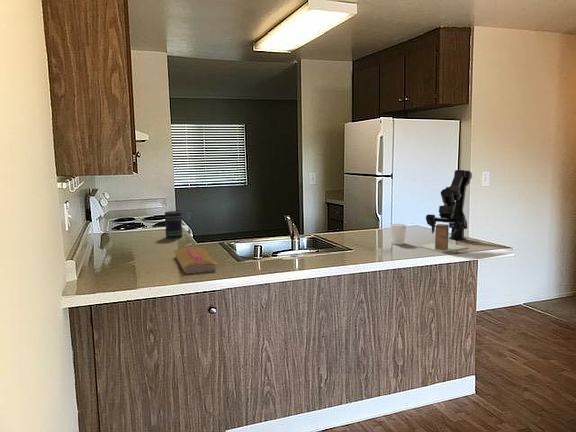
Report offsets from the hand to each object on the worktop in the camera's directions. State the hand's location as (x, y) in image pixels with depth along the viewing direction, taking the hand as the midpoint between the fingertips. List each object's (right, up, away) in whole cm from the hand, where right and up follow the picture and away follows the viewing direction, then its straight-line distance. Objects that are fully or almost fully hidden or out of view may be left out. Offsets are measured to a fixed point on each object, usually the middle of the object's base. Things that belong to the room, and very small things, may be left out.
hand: (442, 234), depth 231 cm
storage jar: (-144, -4, +45) cm, 151 cm away
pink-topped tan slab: (-119, -13, -20) cm, 121 cm away
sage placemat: (+3, -7, +7) cm, 10 cm away
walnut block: (0, -7, +1) cm, 7 cm away
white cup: (-17, -6, +19) cm, 26 cm away
